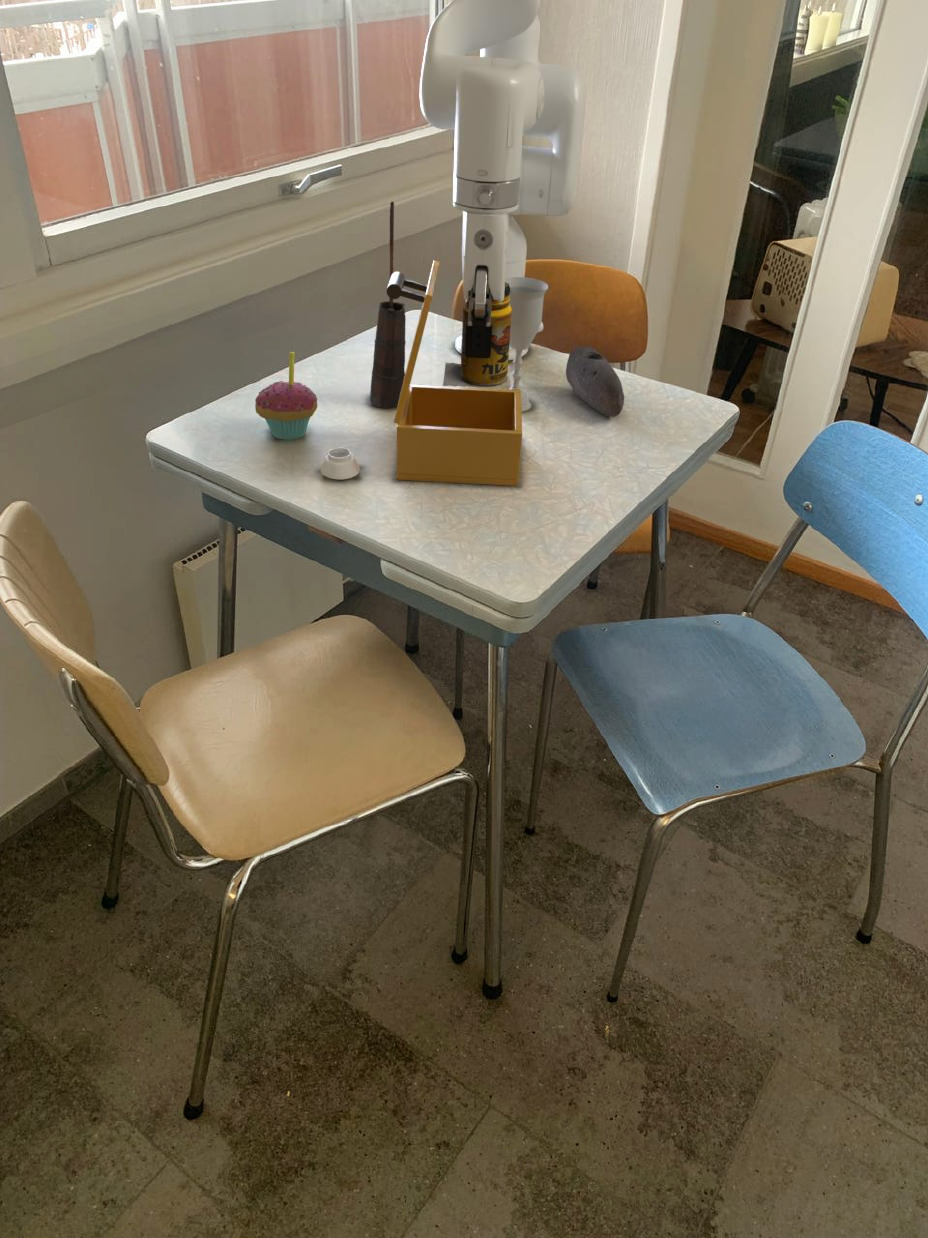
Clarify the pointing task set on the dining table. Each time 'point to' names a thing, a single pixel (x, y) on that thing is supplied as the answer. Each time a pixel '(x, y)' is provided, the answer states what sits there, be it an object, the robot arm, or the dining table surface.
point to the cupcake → (287, 406)
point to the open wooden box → (460, 435)
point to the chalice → (524, 322)
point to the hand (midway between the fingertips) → (478, 345)
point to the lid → (395, 292)
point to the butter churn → (389, 346)
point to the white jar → (340, 464)
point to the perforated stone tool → (595, 381)
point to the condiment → (496, 367)
